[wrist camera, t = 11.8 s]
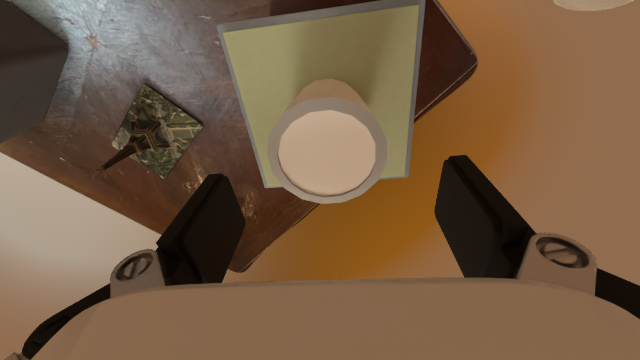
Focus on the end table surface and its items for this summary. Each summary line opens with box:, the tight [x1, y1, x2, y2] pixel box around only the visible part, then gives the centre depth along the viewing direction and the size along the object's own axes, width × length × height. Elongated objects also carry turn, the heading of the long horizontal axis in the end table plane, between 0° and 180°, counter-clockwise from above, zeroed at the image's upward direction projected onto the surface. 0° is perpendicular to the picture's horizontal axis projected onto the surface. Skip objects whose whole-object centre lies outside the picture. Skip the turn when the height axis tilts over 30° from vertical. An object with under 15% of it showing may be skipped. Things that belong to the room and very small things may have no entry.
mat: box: [223, 5, 419, 187], centre depth 20 cm, size 13×13×1 cm
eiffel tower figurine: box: [91, 84, 204, 179], centre depth 36 cm, size 15×10×13 cm
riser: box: [216, 0, 426, 188], centre depth 28 cm, size 14×14×18 cm
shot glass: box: [267, 78, 387, 204], centre depth 17 cm, size 7×7×7 cm
